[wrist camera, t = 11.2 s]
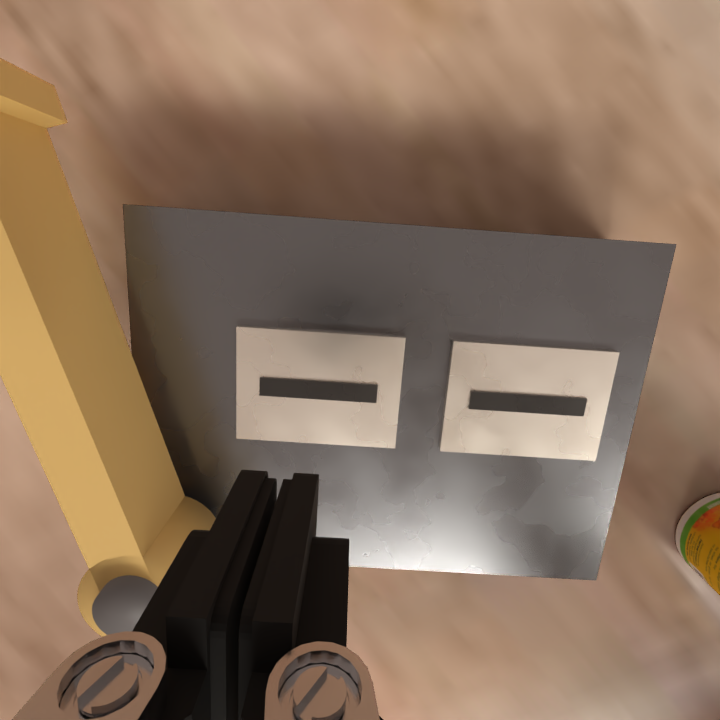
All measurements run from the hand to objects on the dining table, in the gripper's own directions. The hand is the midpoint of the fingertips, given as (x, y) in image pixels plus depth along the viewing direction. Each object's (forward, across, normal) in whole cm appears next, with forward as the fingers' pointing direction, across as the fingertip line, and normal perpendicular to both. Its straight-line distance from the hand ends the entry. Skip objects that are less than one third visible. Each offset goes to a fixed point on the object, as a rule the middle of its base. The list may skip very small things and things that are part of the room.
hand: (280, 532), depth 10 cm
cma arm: (+10, +8, -1) cm, 13 cm away
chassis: (+15, -3, +1) cm, 15 cm away
